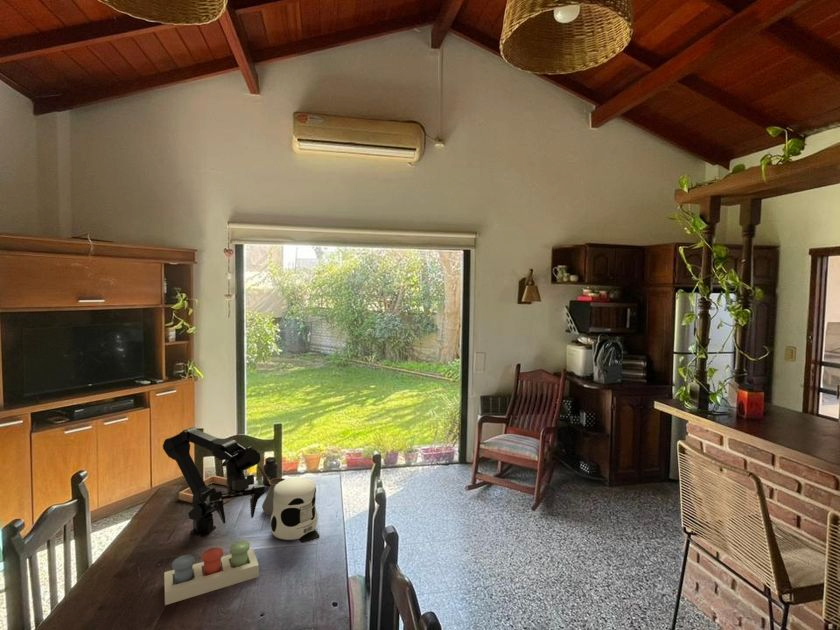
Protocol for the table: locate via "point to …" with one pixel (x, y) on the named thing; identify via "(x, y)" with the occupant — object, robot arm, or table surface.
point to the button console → (209, 578)
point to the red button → (212, 561)
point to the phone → (310, 537)
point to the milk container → (294, 509)
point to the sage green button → (239, 553)
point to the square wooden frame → (187, 493)
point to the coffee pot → (269, 493)
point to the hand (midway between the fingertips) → (238, 520)
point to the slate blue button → (183, 568)
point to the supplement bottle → (270, 470)
